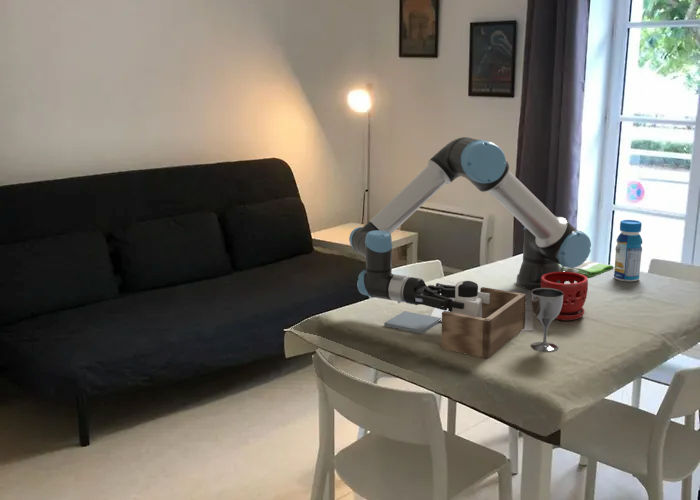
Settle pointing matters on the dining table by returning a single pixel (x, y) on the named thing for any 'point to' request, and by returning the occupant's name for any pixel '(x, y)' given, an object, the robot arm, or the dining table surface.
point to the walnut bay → (485, 325)
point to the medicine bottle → (468, 297)
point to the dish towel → (588, 268)
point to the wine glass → (546, 313)
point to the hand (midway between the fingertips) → (482, 302)
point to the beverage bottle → (628, 251)
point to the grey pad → (412, 322)
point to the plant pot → (568, 292)
